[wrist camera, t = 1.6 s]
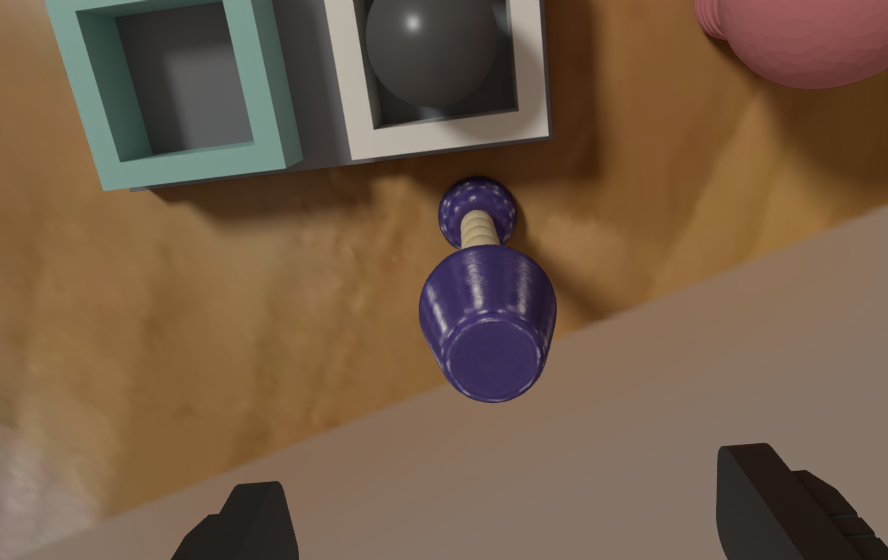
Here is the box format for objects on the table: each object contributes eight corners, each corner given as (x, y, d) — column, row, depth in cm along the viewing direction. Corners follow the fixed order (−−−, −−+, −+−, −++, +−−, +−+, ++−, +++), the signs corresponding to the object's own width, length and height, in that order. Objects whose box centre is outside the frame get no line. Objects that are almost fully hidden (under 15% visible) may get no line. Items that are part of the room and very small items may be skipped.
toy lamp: (538, 196, 32) (601, 315, 16) (505, 273, 33) (534, 451, 18) (454, 164, 32) (434, 254, 16) (424, 244, 33) (380, 398, 17)
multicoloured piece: (534, -83, 28) (555, -137, 21) (549, 136, 31) (572, 155, 24) (87, -14, 30) (-34, -41, 23) (144, 186, 33) (54, 218, 26)
